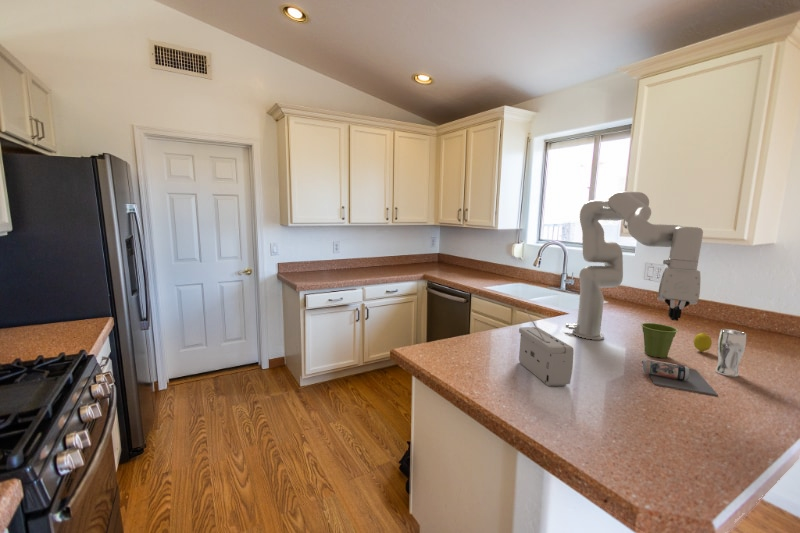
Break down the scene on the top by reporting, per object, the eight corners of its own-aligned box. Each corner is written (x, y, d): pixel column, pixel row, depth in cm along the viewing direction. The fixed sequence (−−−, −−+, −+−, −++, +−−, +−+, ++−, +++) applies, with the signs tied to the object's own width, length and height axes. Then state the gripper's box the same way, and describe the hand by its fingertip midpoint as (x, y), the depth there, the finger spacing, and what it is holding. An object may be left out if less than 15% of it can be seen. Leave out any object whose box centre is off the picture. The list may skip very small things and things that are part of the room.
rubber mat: (654, 384, 116) (654, 383, 116) (642, 362, 134) (642, 361, 134) (717, 396, 109) (718, 394, 109) (695, 371, 127) (695, 369, 127)
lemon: (713, 355, 143) (716, 335, 142) (697, 353, 144) (700, 334, 143) (704, 350, 149) (707, 331, 148) (689, 348, 150) (692, 330, 149)
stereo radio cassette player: (571, 387, 112) (578, 325, 109) (547, 389, 111) (553, 326, 108) (535, 360, 133) (540, 307, 130) (515, 361, 131) (519, 308, 128)
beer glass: (733, 370, 128) (740, 330, 126) (744, 379, 122) (752, 336, 120) (709, 367, 131) (715, 327, 129) (719, 375, 124) (726, 333, 122)
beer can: (645, 358, 122) (690, 366, 116) (643, 358, 126) (686, 366, 120) (643, 373, 121) (688, 382, 115) (642, 372, 125) (685, 381, 119)
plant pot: (676, 355, 142) (680, 327, 141) (672, 363, 134) (676, 334, 132) (640, 346, 150) (644, 320, 149) (634, 354, 142) (638, 326, 140)
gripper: (657, 264, 117) (649, 319, 120) (716, 269, 111) (705, 326, 114) (652, 261, 123) (644, 313, 127) (707, 265, 118) (697, 319, 121)
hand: (673, 319), depth 120 cm, fingers closed
